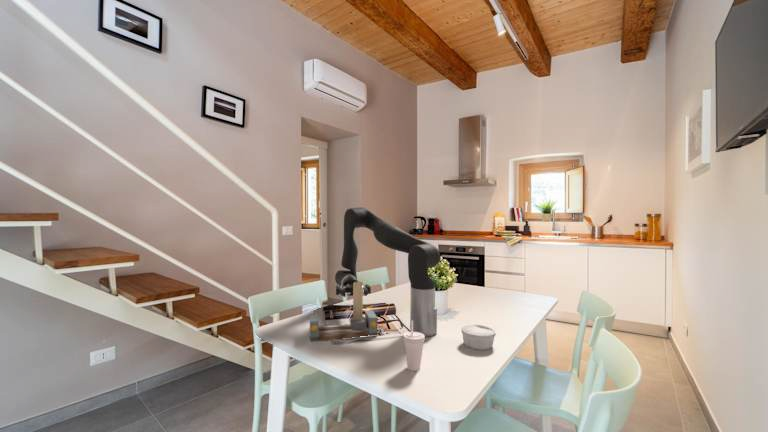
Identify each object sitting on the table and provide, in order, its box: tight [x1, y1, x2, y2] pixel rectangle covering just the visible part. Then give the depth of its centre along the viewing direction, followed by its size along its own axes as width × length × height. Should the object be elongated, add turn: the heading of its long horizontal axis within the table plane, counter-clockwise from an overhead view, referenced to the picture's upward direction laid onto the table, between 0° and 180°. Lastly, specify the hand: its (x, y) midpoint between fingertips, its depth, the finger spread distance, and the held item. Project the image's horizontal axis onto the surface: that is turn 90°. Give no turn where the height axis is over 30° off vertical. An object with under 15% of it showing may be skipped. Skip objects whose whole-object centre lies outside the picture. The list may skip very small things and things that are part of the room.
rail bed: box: [312, 324, 378, 342], centre depth 128 cm, size 24×9×2 cm, turn 103°
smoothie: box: [402, 320, 426, 372], centre depth 101 cm, size 6×6×14 cm
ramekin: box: [461, 324, 496, 351], centre depth 119 cm, size 11×11×5 cm
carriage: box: [349, 281, 366, 330], centre depth 129 cm, size 5×7×16 cm
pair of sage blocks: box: [309, 310, 378, 342], centre depth 127 cm, size 24×9×7 cm, turn 103°
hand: (355, 293), depth 136 cm, fingers open, 8 cm apart
